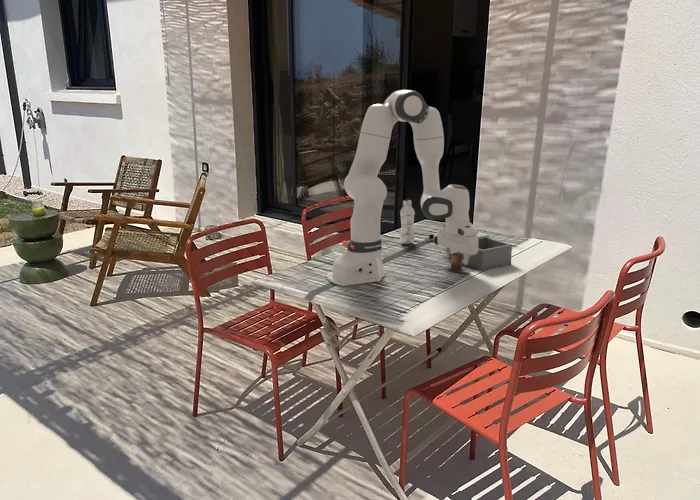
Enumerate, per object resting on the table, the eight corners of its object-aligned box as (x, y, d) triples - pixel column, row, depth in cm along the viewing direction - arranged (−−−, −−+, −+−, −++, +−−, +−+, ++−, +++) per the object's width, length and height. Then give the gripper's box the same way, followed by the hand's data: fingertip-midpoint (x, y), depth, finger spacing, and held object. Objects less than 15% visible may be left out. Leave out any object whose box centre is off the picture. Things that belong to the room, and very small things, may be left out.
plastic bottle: (397, 242, 257) (397, 200, 252) (411, 241, 259) (411, 198, 254) (403, 246, 251) (402, 202, 246) (416, 244, 253) (417, 201, 248)
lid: (460, 242, 224) (460, 235, 223) (437, 235, 236) (437, 228, 235) (489, 237, 230) (489, 230, 230) (465, 230, 243) (465, 223, 242)
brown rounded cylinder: (455, 271, 216) (455, 256, 214) (448, 268, 219) (449, 253, 217) (463, 269, 217) (463, 254, 216) (456, 266, 221) (457, 252, 219)
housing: (481, 270, 215) (482, 250, 213) (456, 261, 228) (457, 242, 225) (511, 264, 222) (512, 244, 219) (485, 255, 234) (485, 236, 232)
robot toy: (446, 247, 251) (464, 238, 261) (446, 238, 250) (464, 229, 260) (424, 243, 259) (442, 234, 269) (423, 233, 258) (442, 225, 268)
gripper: (434, 223, 221) (434, 256, 225) (468, 233, 204) (467, 269, 208) (446, 220, 224) (446, 253, 228) (481, 230, 207) (480, 266, 211)
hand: (457, 261), depth 218 cm, fingers open, 8 cm apart
